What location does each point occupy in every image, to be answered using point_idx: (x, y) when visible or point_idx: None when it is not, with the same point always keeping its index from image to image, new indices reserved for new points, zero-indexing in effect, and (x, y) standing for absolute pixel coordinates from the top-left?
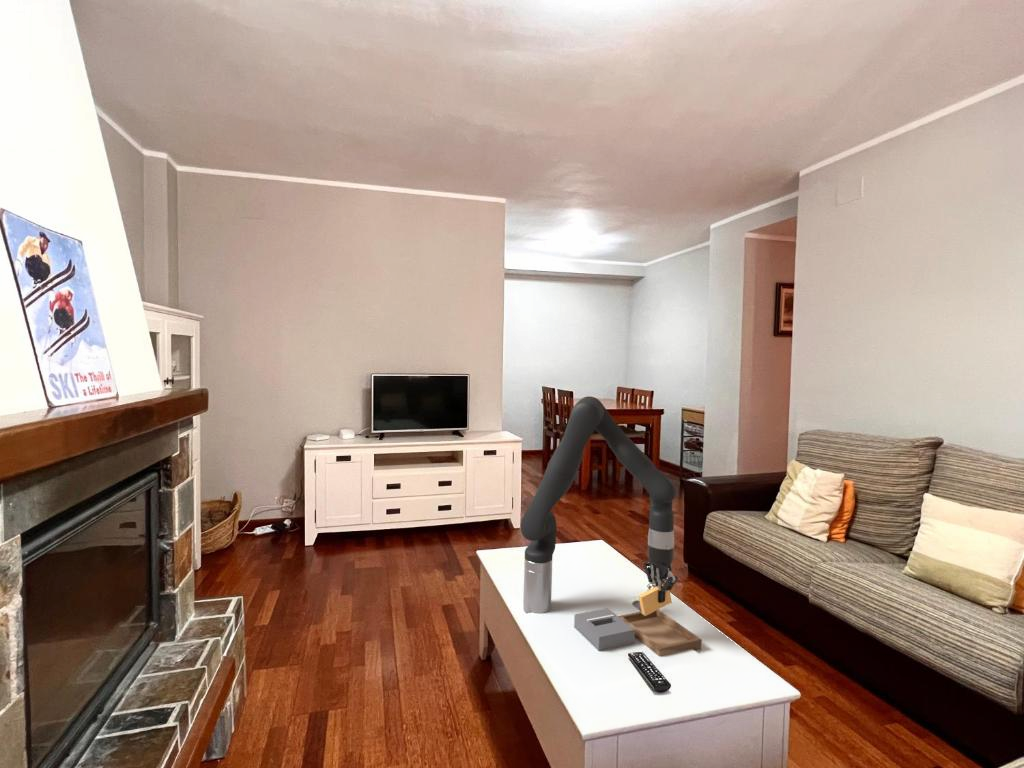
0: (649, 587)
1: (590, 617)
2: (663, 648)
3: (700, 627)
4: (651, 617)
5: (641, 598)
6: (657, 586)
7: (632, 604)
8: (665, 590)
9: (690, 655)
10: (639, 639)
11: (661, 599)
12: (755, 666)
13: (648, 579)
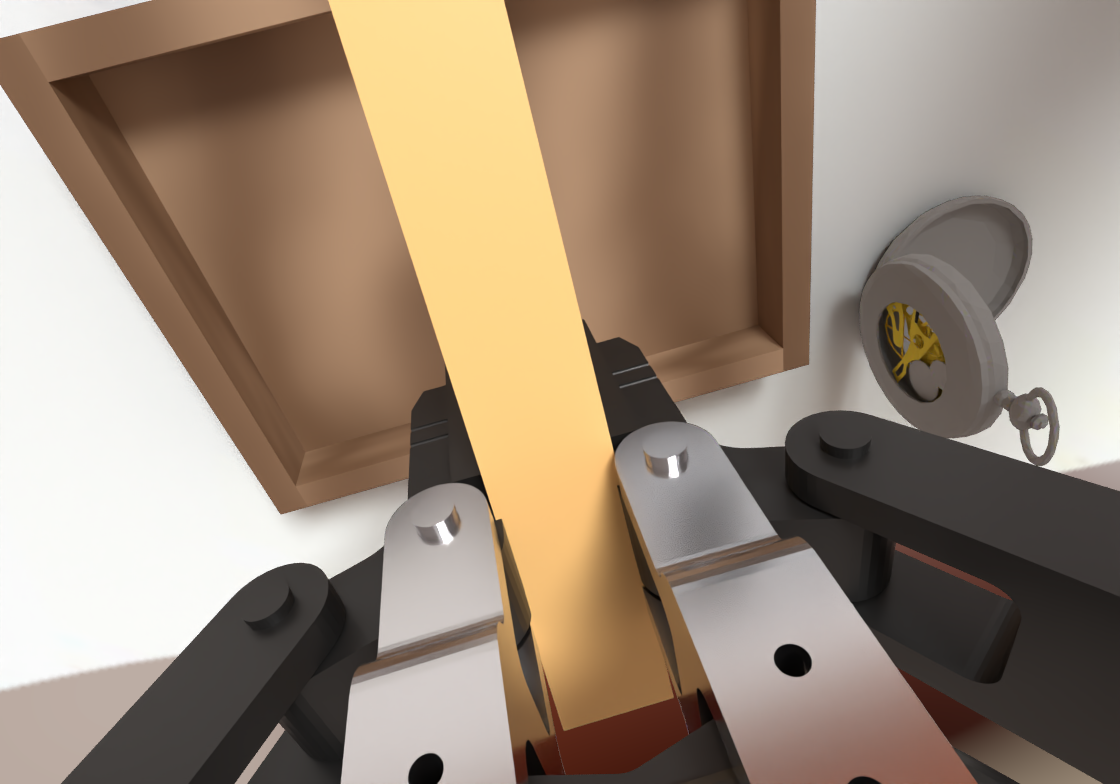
0: (1020, 408)
1: None
2: (22, 111)
3: None
4: (755, 280)
5: None
6: (601, 515)
7: (1001, 203)
8: (235, 631)
9: None
10: None
11: (414, 419)
12: (128, 661)
13: (906, 436)
